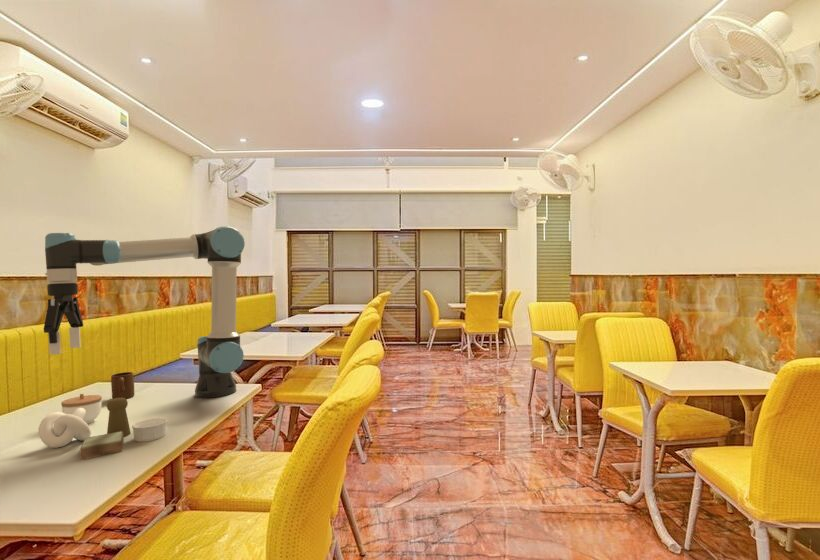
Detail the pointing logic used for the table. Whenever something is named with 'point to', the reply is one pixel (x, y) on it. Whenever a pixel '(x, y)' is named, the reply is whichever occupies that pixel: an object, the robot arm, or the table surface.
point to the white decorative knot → (63, 428)
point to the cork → (118, 416)
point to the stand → (102, 445)
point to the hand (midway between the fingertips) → (65, 350)
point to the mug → (122, 385)
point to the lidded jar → (84, 406)
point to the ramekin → (149, 429)
